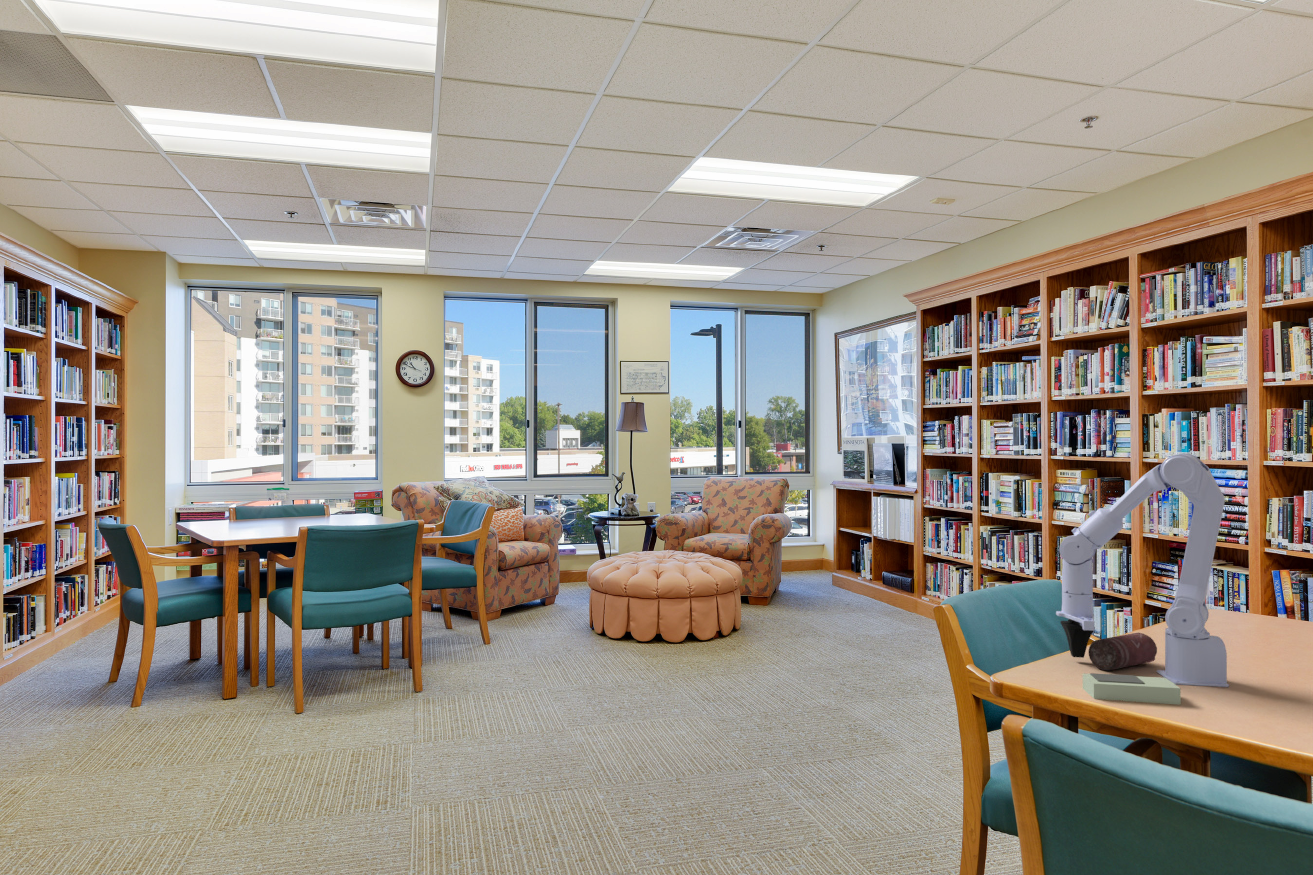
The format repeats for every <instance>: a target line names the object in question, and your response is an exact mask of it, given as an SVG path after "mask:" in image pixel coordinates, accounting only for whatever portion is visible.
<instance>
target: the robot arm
mask: <svg viewBox="0 0 1313 875" xmlns="http://www.w3.org/2000/svg"><path fill="white" fill-rule="evenodd" d="M1171 487H1173V488H1174V489H1176V490H1178V491H1180V492H1181V493H1183V495H1184V496H1185V497H1186V498H1187V499H1188V500H1189V501H1190V502H1191V503H1192V505H1193V510H1192V516H1191V522H1190V526H1189V531H1188V536H1187V541H1186V546H1185V551H1184V555H1183V556H1184V557H1183V561H1182V566H1181V571H1180V576H1179V582H1178V586H1177V590H1176V591H1175V592H1176V593H1175V596H1174V600H1173V602H1172V603H1171V605H1170V607H1169V608H1168V609H1167V610H1166V613H1165V617H1164V618H1165V619H1164V620H1165V624H1166V625H1167V628H1166V627H1165V629H1164V631H1165V632H1164V641H1165V642H1164V643H1165V644H1164V651H1165V653H1164V654H1165V655H1164V656H1165V657H1164V659H1165V660H1164V662H1165V663H1164V664H1165V665H1164V666H1165V667H1164V668H1165V670H1164V669H1157V670H1156V673H1157V674H1159V675H1160V676H1161V677H1162V678H1167V679H1168V680H1169V681H1171V682H1172V683H1174V684H1175V685H1177V686H1178V685H1179V686H1180V685H1181V686H1198V687H1220V688H1229V685H1230V684H1229V683H1228V682H1227V680H1228V677H1227V676H1228V670H1227V668H1228V667H1227V666H1228V664H1227V663H1228V661H1227V660H1228V659H1227V658H1228V656H1227V648H1226V645H1225V643H1224V640H1223V639H1222V638H1221V637H1220V636H1217V635H1211V633H1210V631H1208V630H1207V629H1206V628H1205V626H1206V623H1207V621H1208V620H1209V609H1208V607H1207V604H1206V600H1207V593H1208V586H1209V582H1210V576H1211V572H1212V565H1213V562H1214V557H1215V553H1216V547H1217V546H1216V545H1217V543H1218V536H1219V532H1220V526H1221V522H1222V516H1223V512H1224V508H1225V507H1224V506H1225V502H1226V501H1225V499H1226V498H1225V495H1224V494H1223V492H1222V490H1221V488H1220V486H1219V485H1218V483H1217V481H1216V480H1215V478H1214V476H1213V474H1212V471H1211V469H1210V468H1209V466H1208V465H1206V464H1205V463H1204V462H1203V461H1202V460H1201V459H1199V458H1198V457H1197V456H1195V455H1193V454H1191V453H1185V452H1184V453H1178V454H1173V455H1171V456H1168V457H1166V458H1165V459H1164V461H1163V462H1162V463H1160V464H1158V465H1156V466H1155V467H1153V468H1152V469H1150V470H1149V471H1148V472H1146V473H1145V474H1143V475H1142V476H1141V477H1140V478H1139V479H1138V480H1137V481H1136V482H1135V483H1134V484H1133V485H1132V486H1131V487H1129V489H1127V491H1126V492H1124V494H1123V495H1121V497H1120V498H1118V500H1117V501H1115V503H1114V504H1112V505H1111V506H1110V507H1108V508H1107V507H1106V508H1105V507H1099V508H1098V509H1097V510H1096V511H1095V510H1091V511H1090V512H1089V513H1087V515H1088V516H1089V517H1088V518H1087V519H1085V521H1084V522H1083V523H1082V524H1081V525H1079V526H1078V527H1074V528H1073V529H1071V532H1072V534H1073V535H1068V536H1066V537H1064V538H1063V540H1062V541H1061V543H1060V545H1059V554H1060V556H1061V558H1062V570H1061V610H1056V611H1055V615H1056V616H1057V617H1061V618H1062V617H1063V618H1066V619H1067V620H1060V621H1059V622H1060V625H1061V626H1062V629H1063V630H1064V633H1065V635H1066V640H1067V643H1068V648H1069V652H1070V655H1071V656H1072V657H1073V658H1085V654H1086V651H1087V647H1088V644H1089V640H1090V638H1091V636H1092V634H1093V633H1094V632H1095V630H1096V626H1095V621H1094V619H1095V614H1094V598H1093V597H1094V594H1093V593H1094V591H1093V590H1094V588H1093V584H1094V582H1093V581H1094V579H1093V574H1094V573H1093V572H1094V571H1093V570H1092V569H1093V560H1092V558H1093V557H1094V556H1095V554H1096V550H1100V549H1101V548H1102V547H1104V546H1105V545H1106V544H1107V543H1108V542H1109V541H1111V539H1112V538H1114V537H1115V536H1116V535H1117V534H1118V533H1119V532H1120V531H1121V530H1123V528H1124V523H1123V521H1124V520H1123V519H1124V518H1126V516H1128V515H1129V514H1130V513H1131V512H1132V511H1134V509H1136V508H1137V507H1138V506H1140V504H1141V503H1143V502H1144V501H1145V500H1146V499H1148V498H1149V497H1150V496H1151V495H1152V494H1154V493H1156V492H1159V491H1160V492H1161V491H1163V490H1167V489H1169V488H1171Z"/></svg>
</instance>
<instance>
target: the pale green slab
mask: <svg viewBox="0 0 1313 875" xmlns="http://www.w3.org/2000/svg"><path fill="white" fill-rule="evenodd" d="M1082 690H1084V691H1085V693H1087V694H1088V695H1089V696H1090V697H1091V698H1093V699H1094V700H1104V699H1105V700H1104V701H1106V700H1108V701H1119V700H1121V701H1122V700H1123V702H1134V703H1136V702H1137V703H1150V704H1151V703H1152V704H1165V705H1182V704H1181V702H1182V700H1181V696H1182V694H1181V693H1182V692H1181V690H1182V689H1181V687H1179V686H1178V684H1174V683H1172V682H1171V681H1169V680H1168V679H1167V678H1164V677H1158V676H1157V677H1155V676H1153V677H1152V676H1140V675H1139V676H1136V675H1131V674H1113V673H1094V672H1091V673H1090V672H1089V673H1082ZM1135 701H1136V702H1135Z"/></svg>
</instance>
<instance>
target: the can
mask: <svg viewBox="0 0 1313 875" xmlns="http://www.w3.org/2000/svg"><path fill="white" fill-rule="evenodd" d="M1157 654H1158V647H1157V643H1156V642H1155V640H1154V639H1153V638H1152V637H1151V636H1149V635H1147V634H1145V633H1141V632H1133V633H1132V632H1131V633H1127V634H1122V635H1117V636H1110V637H1105V638H1100V639H1095V640H1094V641H1092V642H1091V643H1090V644H1089V647H1088V656H1089V660H1090V661H1091V663H1092V664H1093V665H1094V666H1095V668H1098V669H1099V670H1101V671H1105V672H1106V671H1113V670H1119V669H1122V668H1127V667H1132V666H1136V665H1141V664H1142V665H1143V664H1146V663H1148V664H1149V663H1151V662H1154V661H1156V656H1157Z"/></svg>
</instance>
